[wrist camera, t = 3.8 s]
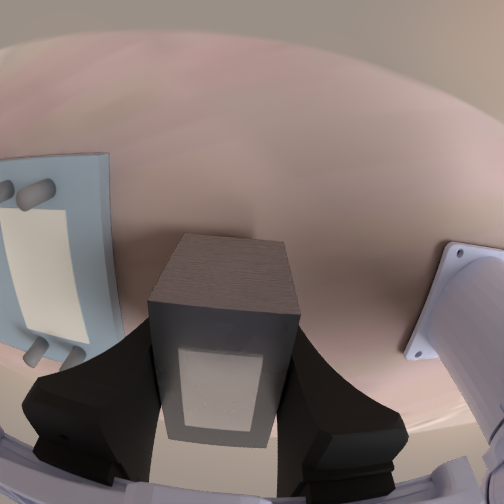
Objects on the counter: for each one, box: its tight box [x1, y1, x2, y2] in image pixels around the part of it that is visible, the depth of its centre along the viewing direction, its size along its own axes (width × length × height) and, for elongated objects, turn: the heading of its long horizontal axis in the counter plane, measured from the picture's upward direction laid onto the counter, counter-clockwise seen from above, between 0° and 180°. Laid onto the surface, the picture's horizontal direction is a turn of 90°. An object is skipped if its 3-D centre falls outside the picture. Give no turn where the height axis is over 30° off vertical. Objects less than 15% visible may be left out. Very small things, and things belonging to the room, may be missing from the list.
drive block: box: [147, 233, 301, 448], centre depth 11 cm, size 4×7×5 cm, turn 174°
